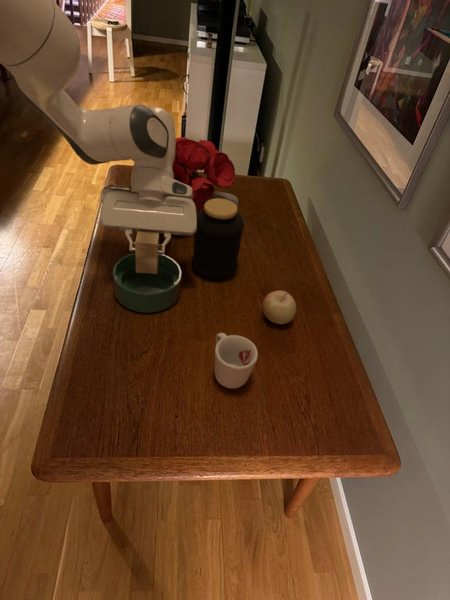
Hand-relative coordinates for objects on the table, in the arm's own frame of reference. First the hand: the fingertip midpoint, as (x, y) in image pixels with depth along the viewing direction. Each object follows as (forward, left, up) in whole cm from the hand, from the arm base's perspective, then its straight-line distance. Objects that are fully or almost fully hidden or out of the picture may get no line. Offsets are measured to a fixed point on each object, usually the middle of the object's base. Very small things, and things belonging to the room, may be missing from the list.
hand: (147, 252), depth 85 cm
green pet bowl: (0, +1, -12) cm, 12 cm away
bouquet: (+19, +31, -12) cm, 38 cm away
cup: (+11, -25, -12) cm, 30 cm away
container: (+18, +7, -12) cm, 23 cm away
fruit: (+27, -13, -12) cm, 33 cm away
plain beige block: (0, +1, -4) cm, 4 cm away
